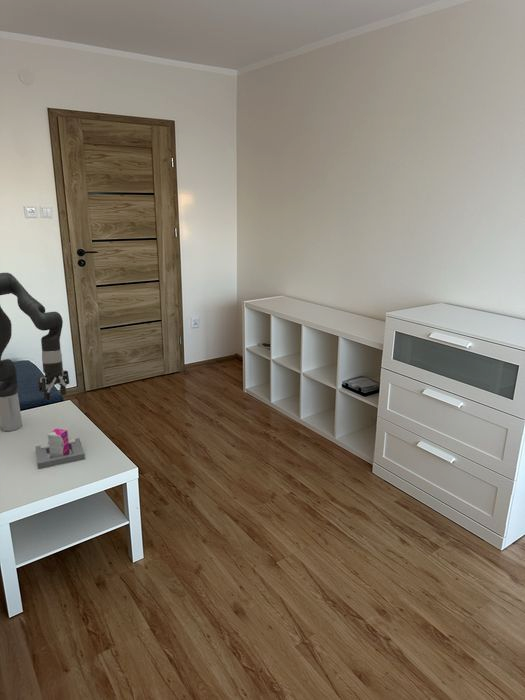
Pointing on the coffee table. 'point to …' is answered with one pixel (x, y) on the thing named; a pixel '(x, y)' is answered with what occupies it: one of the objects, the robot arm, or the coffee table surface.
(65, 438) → the supplement box
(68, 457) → the divided tray
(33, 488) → the coffee table surface
